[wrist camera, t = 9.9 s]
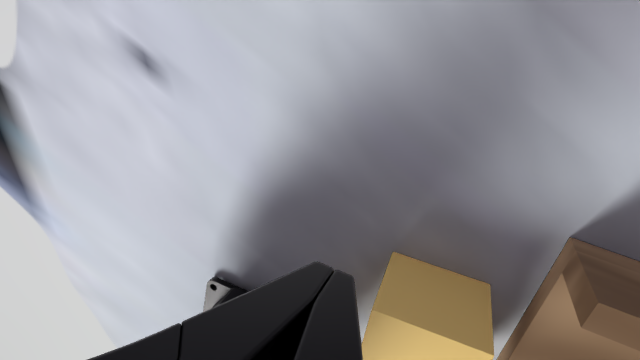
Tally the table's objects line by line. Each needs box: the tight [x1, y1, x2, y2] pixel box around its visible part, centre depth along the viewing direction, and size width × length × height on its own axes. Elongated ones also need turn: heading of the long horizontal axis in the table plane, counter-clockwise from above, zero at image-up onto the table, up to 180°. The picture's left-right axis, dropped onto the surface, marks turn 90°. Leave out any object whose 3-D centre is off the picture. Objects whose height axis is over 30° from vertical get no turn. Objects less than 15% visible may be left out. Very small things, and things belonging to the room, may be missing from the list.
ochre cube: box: [362, 252, 494, 360], centre depth 20 cm, size 5×5×5 cm
